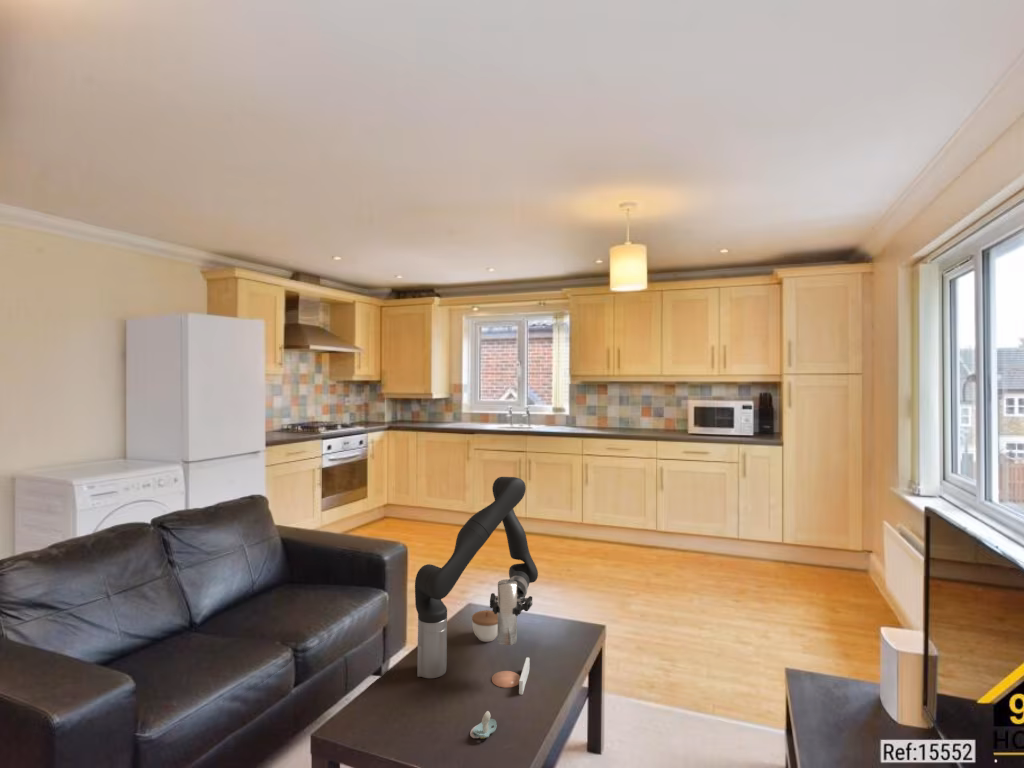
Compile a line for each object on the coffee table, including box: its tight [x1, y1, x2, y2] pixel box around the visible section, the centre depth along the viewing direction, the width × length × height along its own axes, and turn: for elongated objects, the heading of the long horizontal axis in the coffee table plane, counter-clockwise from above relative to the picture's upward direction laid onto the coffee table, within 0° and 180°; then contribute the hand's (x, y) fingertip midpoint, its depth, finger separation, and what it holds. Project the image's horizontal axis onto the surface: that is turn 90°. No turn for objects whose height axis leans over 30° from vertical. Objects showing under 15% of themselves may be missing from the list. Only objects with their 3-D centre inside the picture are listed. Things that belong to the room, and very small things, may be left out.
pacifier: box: [469, 710, 498, 739], centre depth 143 cm, size 7×6×6 cm
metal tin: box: [496, 578, 518, 646], centre depth 169 cm, size 6×6×18 cm
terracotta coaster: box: [491, 670, 521, 689], centre depth 169 cm, size 9×9×1 cm
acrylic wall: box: [518, 656, 531, 696], centre depth 168 cm, size 14×1×4 cm, turn 170°
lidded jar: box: [471, 609, 498, 643], centre depth 196 cm, size 11×11×9 cm
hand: (505, 611), depth 167 cm, fingers closed on metal tin, 6 cm apart
